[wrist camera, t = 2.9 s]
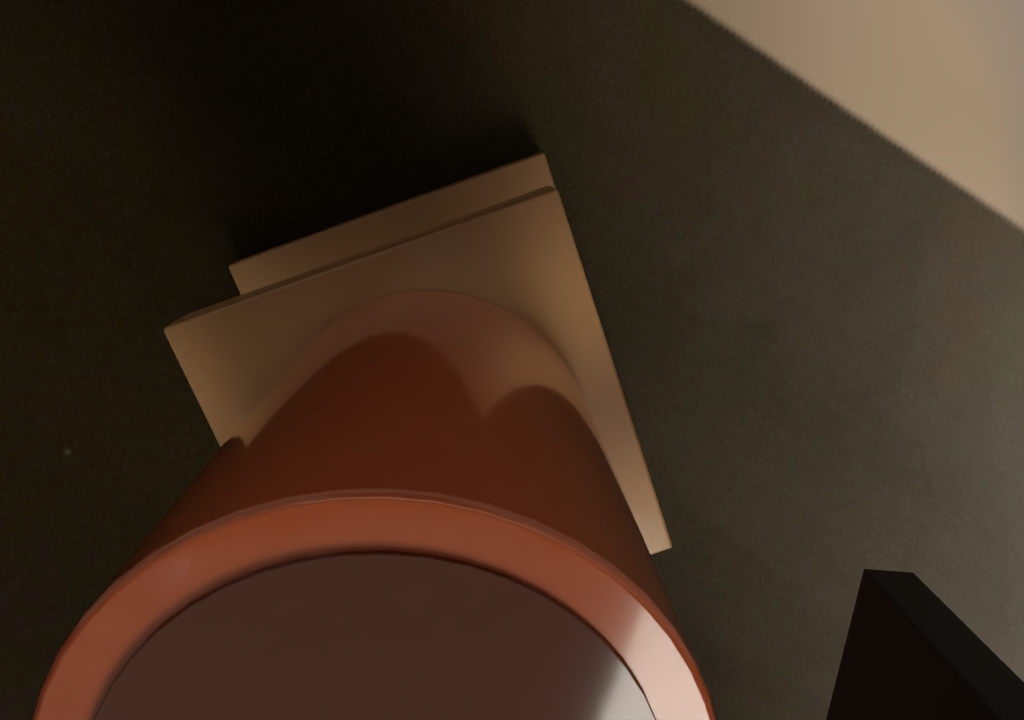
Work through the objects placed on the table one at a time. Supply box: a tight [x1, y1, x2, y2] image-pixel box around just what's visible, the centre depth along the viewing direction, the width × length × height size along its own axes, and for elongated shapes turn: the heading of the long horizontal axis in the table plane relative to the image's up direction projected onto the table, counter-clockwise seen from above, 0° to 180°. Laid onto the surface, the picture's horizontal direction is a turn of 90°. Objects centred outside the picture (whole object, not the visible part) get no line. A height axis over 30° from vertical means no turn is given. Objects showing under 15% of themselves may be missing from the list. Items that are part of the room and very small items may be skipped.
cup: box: [32, 290, 716, 720], centre depth 13 cm, size 7×7×10 cm
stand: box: [164, 153, 672, 555], centre depth 22 cm, size 10×10×8 cm
